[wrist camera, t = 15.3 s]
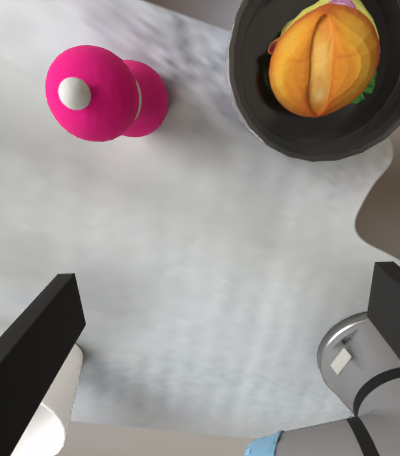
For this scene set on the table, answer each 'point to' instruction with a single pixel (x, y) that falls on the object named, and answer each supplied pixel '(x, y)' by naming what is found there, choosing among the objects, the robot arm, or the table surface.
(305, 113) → the cheeseburger
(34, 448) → the cup
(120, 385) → the table surface
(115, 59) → the pepper mill
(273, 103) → the bowl
